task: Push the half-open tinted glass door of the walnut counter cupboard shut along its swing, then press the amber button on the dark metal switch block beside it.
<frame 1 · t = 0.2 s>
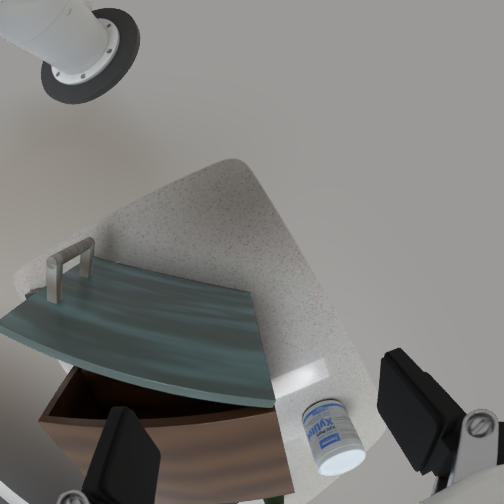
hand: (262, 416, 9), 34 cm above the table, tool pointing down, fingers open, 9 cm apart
character mug: (272, 490, 61), on the table
supplement tub: (322, 413, 53), on the table
cupboard: (186, 359, 47), on the table
cupboard door: (149, 291, 30), point 12 cm above the table, hinge at 25.0°
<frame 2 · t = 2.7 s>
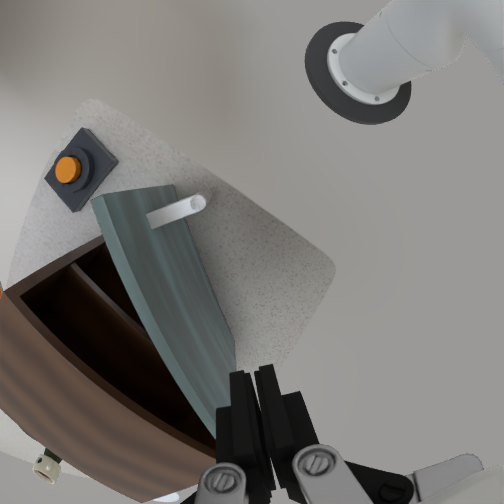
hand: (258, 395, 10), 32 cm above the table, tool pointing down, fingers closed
cosmetic box: (0, 294, 40), on the table
character mug: (57, 445, 51), on the table
button: (68, 169, 32), point 5 cm above the table, slide at 0.2 cm
switch block: (82, 169, 37), on the table
cupboard: (134, 326, 43), on the table
cupboard door: (215, 297, 30), point 12 cm above the table, hinge at 25.0°
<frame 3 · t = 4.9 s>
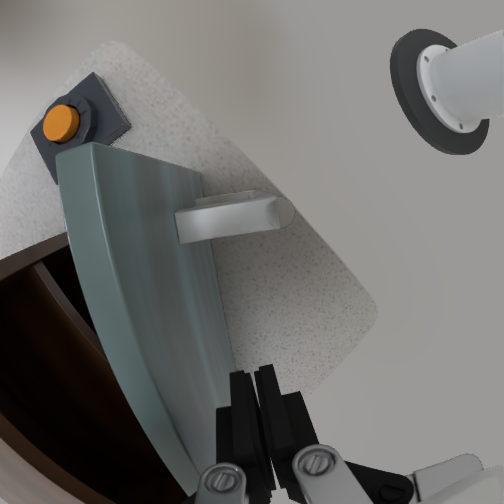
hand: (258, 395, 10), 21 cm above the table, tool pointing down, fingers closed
button: (61, 123, 21), point 5 cm above the table, slide at 0.2 cm
switch block: (81, 129, 25), on the table
cupboard: (114, 346, 32), on the table
cupboard door: (248, 353, 20), point 12 cm above the table, hinge at 24.8°, touching gripper
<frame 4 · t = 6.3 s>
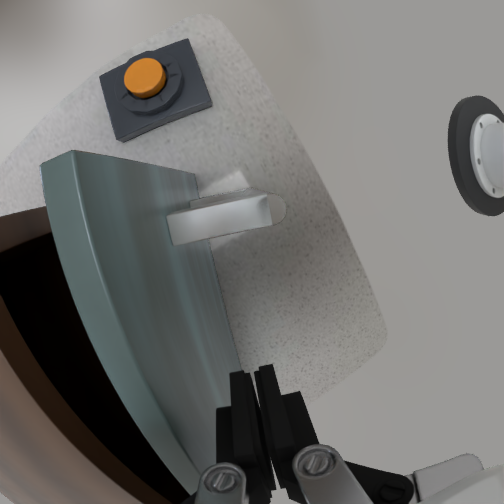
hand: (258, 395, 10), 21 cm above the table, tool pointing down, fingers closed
button: (145, 77, 21), point 5 cm above the table, slide at 0.2 cm
switch block: (155, 91, 25), on the table
cupboard: (127, 323, 31), on the table
cupboard door: (250, 352, 20), point 12 cm above the table, hinge at 8.2°, touching gripper
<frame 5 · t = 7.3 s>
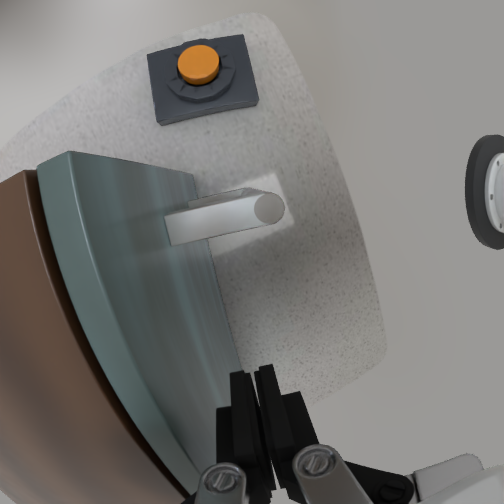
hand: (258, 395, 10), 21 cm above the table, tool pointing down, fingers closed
button: (198, 64, 21), point 5 cm above the table, slide at 0.2 cm
switch block: (202, 80, 25), on the table
cupboard: (136, 311, 31), on the table
cupboard door: (250, 352, 20), point 12 cm above the table, hinge at -0.1°, touching gripper
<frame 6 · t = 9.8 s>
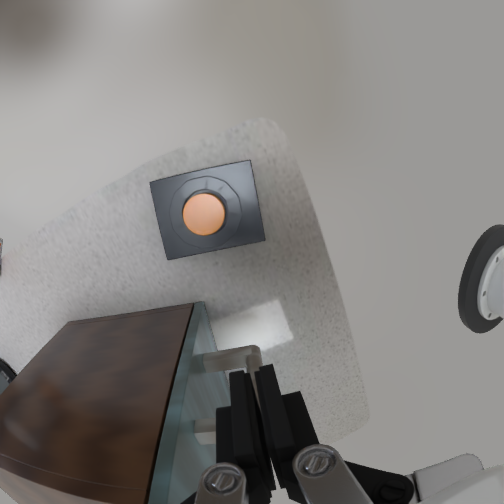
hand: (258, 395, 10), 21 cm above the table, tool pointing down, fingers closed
button: (204, 213, 25), point 5 cm above the table, slide at 0.2 cm
switch block: (208, 208, 29), on the table
supplement container: (6, 377, 33), on the table
cupboard: (158, 395, 35), on the table
cupboard door: (251, 457, 23), point 12 cm above the table, hinge at -0.1°
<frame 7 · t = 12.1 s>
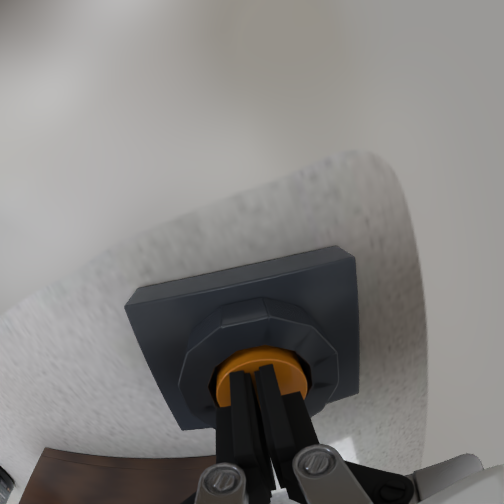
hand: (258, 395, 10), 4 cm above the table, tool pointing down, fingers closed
button: (260, 381, 11), point 4 cm above the table, slide at -0.8 cm, touching gripper
switch block: (252, 338, 14), on the table
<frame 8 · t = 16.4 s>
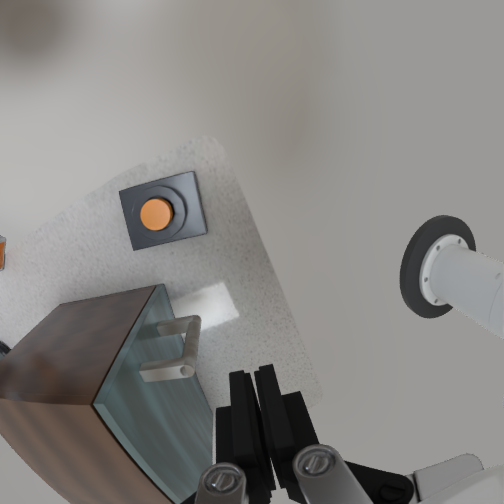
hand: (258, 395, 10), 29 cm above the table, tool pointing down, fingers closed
button: (156, 214, 32), point 5 cm above the table, slide at 0.2 cm
switch block: (164, 210, 36), on the table
supplement container: (6, 360, 40), on the table
cupboard: (133, 367, 42), on the table
cupboard door: (198, 411, 30), point 12 cm above the table, hinge at -0.1°
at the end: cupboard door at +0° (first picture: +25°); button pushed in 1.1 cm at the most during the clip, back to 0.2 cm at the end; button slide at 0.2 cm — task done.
